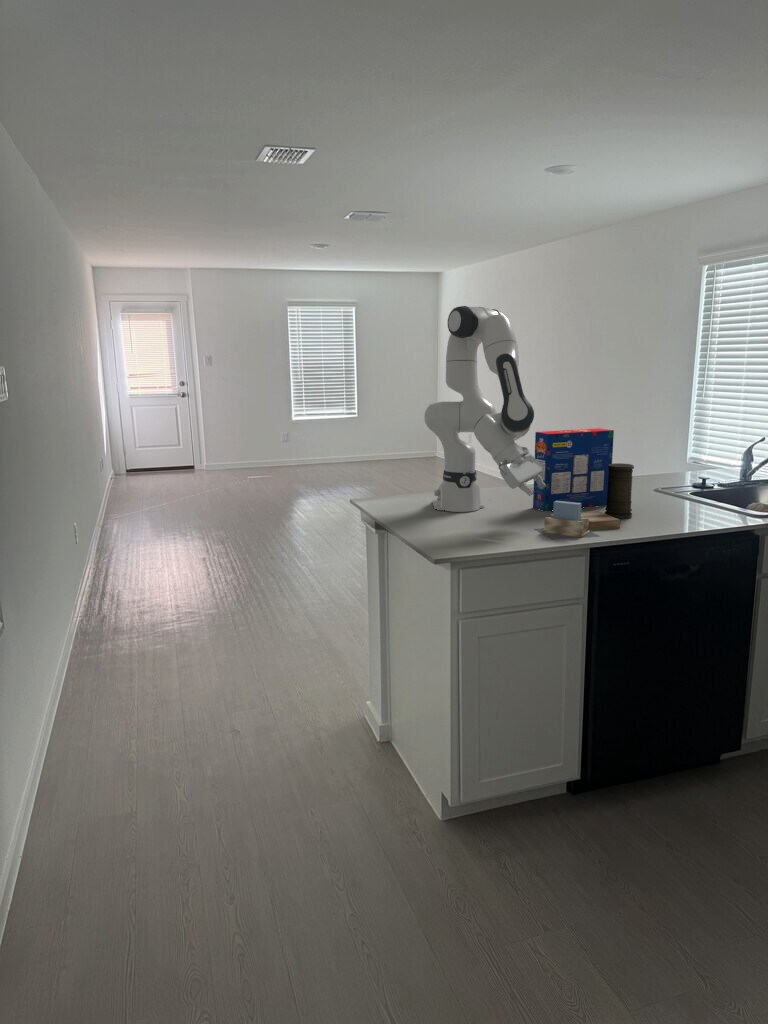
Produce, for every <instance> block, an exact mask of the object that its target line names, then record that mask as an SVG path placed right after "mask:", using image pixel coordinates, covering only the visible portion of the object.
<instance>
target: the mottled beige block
mask: <svg viewBox="0 0 768 1024" xmlns="http://www.w3.org/2000/svg"><path fill="white" fill-rule="evenodd" d="M588 524H589V518H581V521H574V520H565V519H557V518H553V513H552V514H550V516H549V517H548V516H547V517H546V516H545V517H544V527H543V528H544V530H542V532H544V533H552V534H560V535H567V536H575V537H584V536H586V535H587V534H589V533H590V531H591V530H589V529H588ZM588 530H589V531H588ZM584 538H585V537H584Z"/></svg>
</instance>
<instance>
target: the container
mask: <svg viewBox="0 0 768 1024" xmlns="http://www.w3.org/2000/svg"><path fill="white" fill-rule="evenodd" d="M608 468H609V476H608V490H607V500H606V501H607V503H606V506H605V509H604V510H605V511H604V513H605V514H607V515H610V516H612V517H614V518H617V519H619V520H625V519H626V518H627V519H631V518H632V517H633V516H632V515H633V513H632V511H633V510H632V490H633V488H632V486H633V469H634V468H635V466H634V465H633V464H631V463H621V462H618V463H612V464H609V465H608Z"/></svg>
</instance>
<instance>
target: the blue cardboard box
mask: <svg viewBox="0 0 768 1024" xmlns="http://www.w3.org/2000/svg"><path fill="white" fill-rule="evenodd" d="M534 435H535V436H534V437H535V439H534V458H535V459H536V460H537V461H538V463H539V464H540V465H541V467H542V469H543V472H542V473H541V474H539V475H540V476H541V477H542V480H543V482H544V483H545V485H546V487H544V488H543V489H540V488H539V487H538V484H537V482H536V481H534V480H533V491H534V493H533V494H532V495H533V498H532V500H533V501H532V509H535V508H536V510H538V509H540V510H539V511H541V510H543V511H542V512H544V511H551V512H553V511H552V510H553V507H554V502H555V501H565V502H575V503H581V509H584V508H583V507H590V508H596V506H600V507H606V503H607V501H606V500H607V490H608V476H609V468H608V465H609V464H613V455H614V454H613V453H614V435H615V429H608V428H600V427H598V428H581V429H567V430H566V429H564V430H563V429H561V430H546V431H544V430H543V431H535V434H534Z"/></svg>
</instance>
